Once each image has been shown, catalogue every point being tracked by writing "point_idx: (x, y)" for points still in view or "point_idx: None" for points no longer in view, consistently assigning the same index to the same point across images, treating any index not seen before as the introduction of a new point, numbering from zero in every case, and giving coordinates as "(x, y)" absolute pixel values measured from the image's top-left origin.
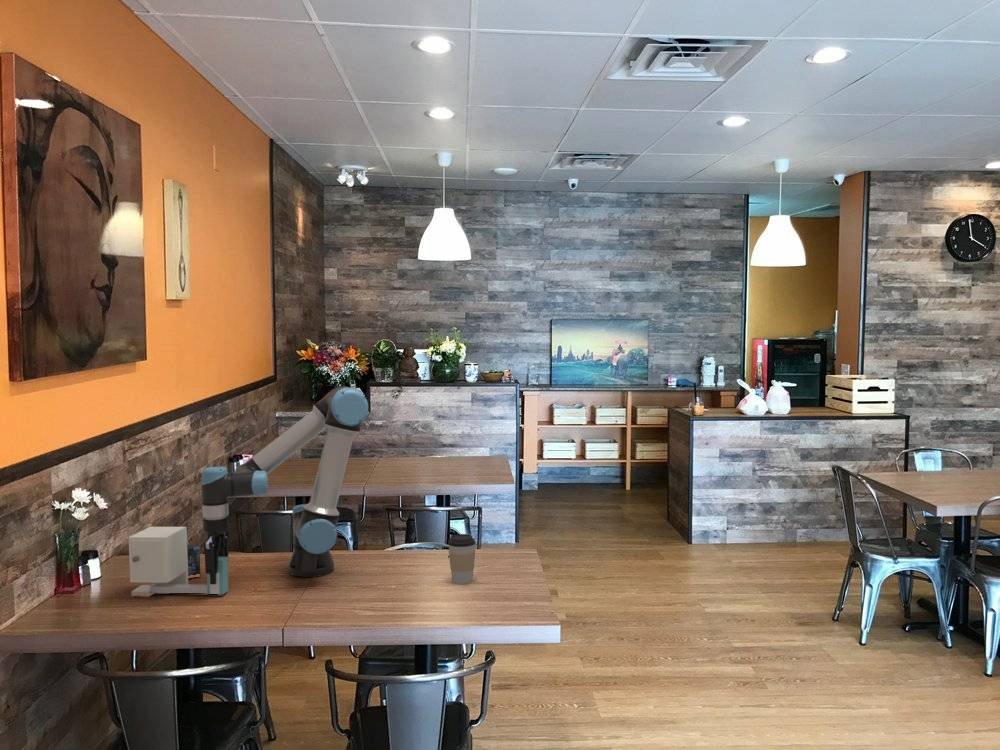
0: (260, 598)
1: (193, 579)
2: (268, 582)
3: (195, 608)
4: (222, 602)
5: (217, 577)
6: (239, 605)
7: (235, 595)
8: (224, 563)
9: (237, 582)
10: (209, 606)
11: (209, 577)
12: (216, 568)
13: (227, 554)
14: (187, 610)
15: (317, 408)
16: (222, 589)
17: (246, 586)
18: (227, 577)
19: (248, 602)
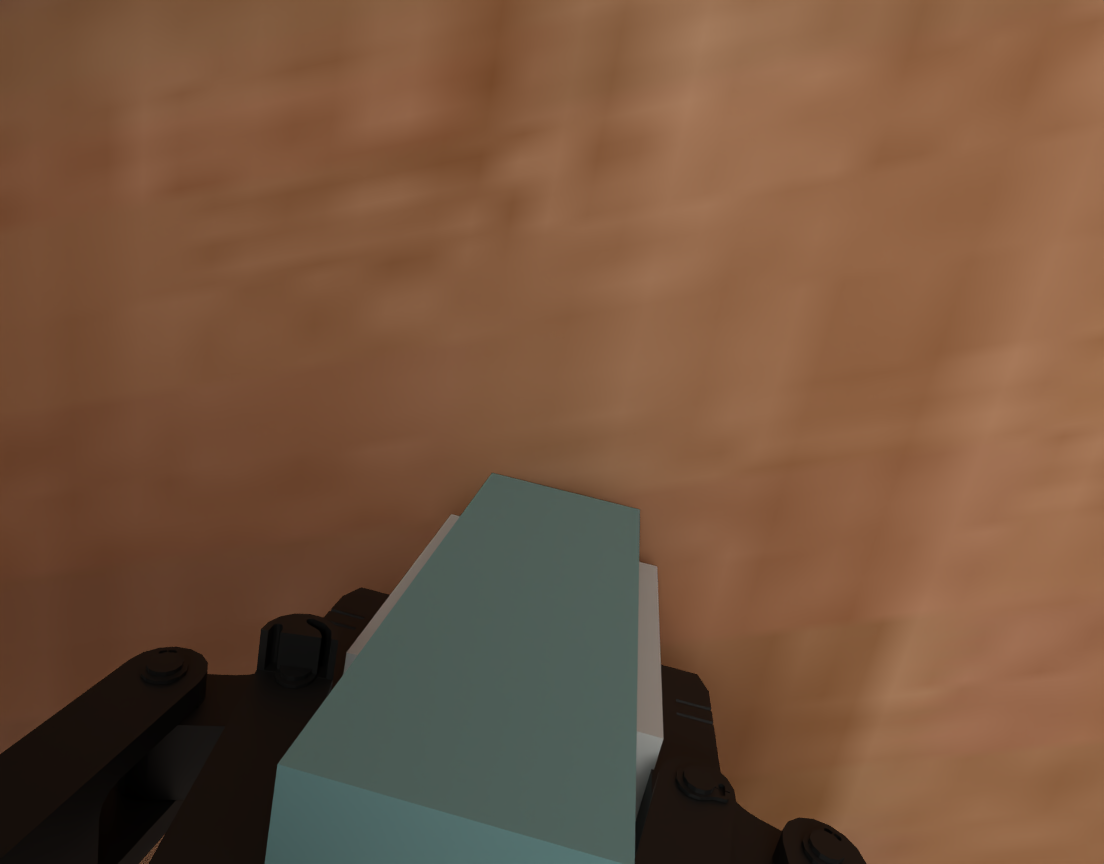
0: (806, 8)
1: None
2: (156, 31)
3: (957, 727)
4: (832, 482)
5: (660, 697)
6: (1023, 256)
7: (604, 373)
8: (531, 743)
9: (147, 424)
10: (936, 601)
11: None
12: (703, 839)
13: (32, 779)
14: (997, 792)
15: None
16: (637, 543)
17: (290, 296)
18: (468, 545)
19: (934, 154)
